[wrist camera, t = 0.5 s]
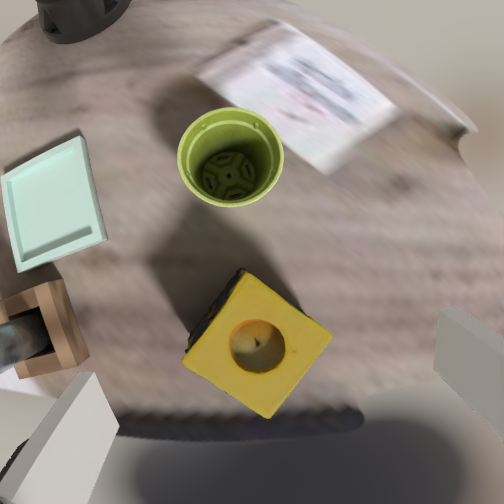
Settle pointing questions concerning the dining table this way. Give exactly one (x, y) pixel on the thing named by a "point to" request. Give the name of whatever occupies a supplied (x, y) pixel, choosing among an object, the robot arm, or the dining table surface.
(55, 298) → the socket collar
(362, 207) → the dining table surface
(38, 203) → the tray
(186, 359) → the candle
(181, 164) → the plant pot
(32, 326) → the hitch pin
